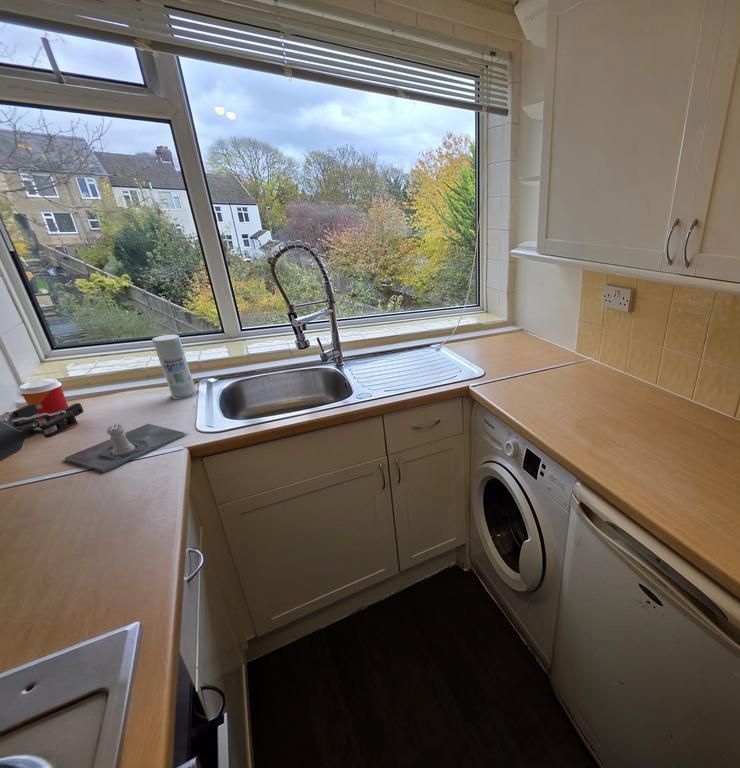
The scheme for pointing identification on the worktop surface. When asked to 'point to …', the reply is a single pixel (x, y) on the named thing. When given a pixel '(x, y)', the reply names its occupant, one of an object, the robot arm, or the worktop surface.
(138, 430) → the plate
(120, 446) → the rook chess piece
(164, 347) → the spray can
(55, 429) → the robot arm
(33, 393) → the paper cup
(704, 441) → the worktop surface
